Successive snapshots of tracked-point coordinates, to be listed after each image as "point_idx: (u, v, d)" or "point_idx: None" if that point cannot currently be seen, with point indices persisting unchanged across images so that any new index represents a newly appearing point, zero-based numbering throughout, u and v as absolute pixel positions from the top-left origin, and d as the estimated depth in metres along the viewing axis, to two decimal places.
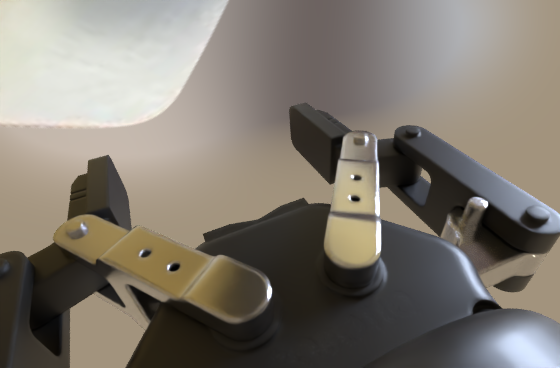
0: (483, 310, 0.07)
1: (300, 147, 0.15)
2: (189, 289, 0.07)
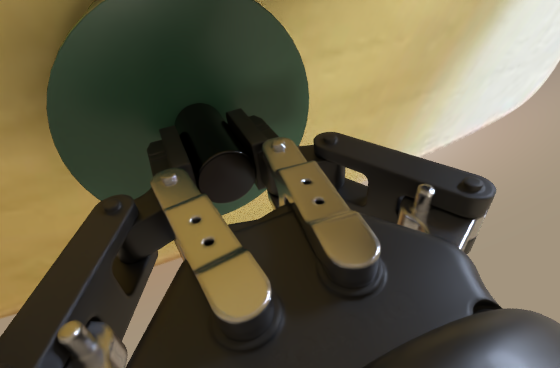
0: (483, 310, 0.07)
1: None
2: (205, 267, 0.07)
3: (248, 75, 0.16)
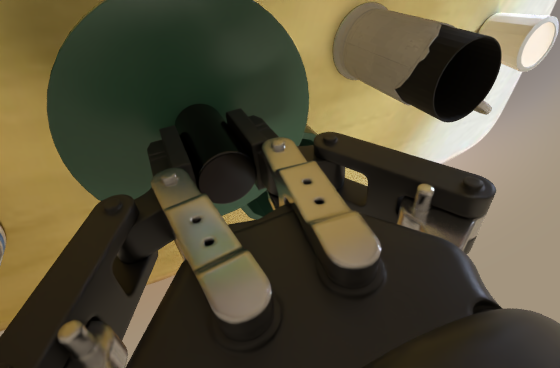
0: (483, 310, 0.07)
1: None
2: (205, 268, 0.07)
3: (248, 76, 0.16)
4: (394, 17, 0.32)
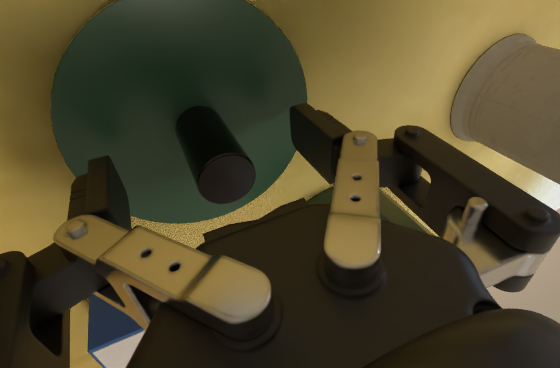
0: (483, 310, 0.07)
1: (300, 147, 0.15)
2: (189, 288, 0.07)
3: (247, 78, 0.16)
4: None
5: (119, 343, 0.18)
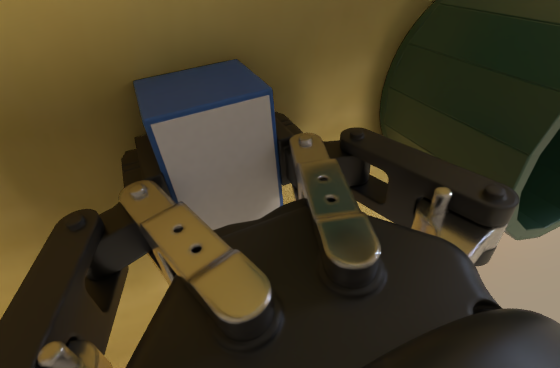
0: (483, 310, 0.07)
1: None
2: (198, 274, 0.07)
3: None
4: None
5: (195, 118, 0.11)
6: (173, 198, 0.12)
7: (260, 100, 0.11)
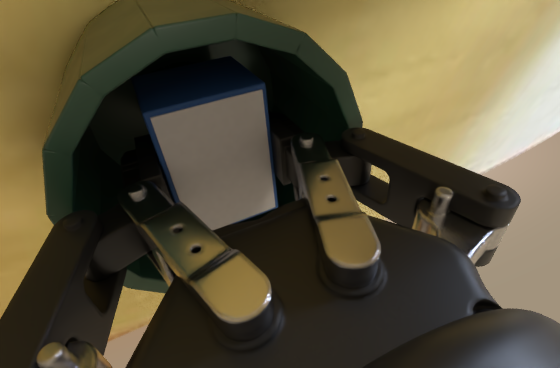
0: (483, 310, 0.07)
1: None
2: (198, 274, 0.07)
3: None
4: None
5: (192, 111, 0.11)
6: (172, 189, 0.12)
7: (254, 94, 0.12)
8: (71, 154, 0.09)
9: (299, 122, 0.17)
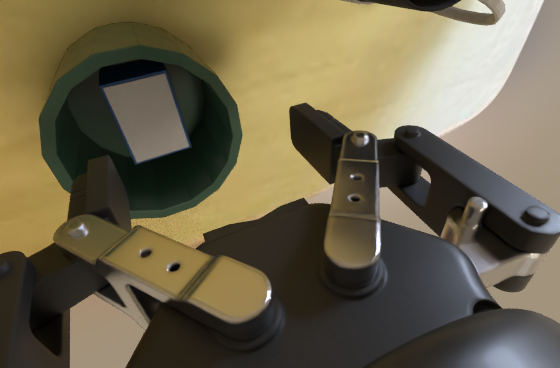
0: (483, 310, 0.07)
1: (300, 147, 0.15)
2: (189, 288, 0.07)
3: None
4: None
5: (125, 85, 0.21)
6: (120, 129, 0.23)
7: (160, 75, 0.22)
8: (54, 121, 0.17)
9: (214, 109, 0.25)
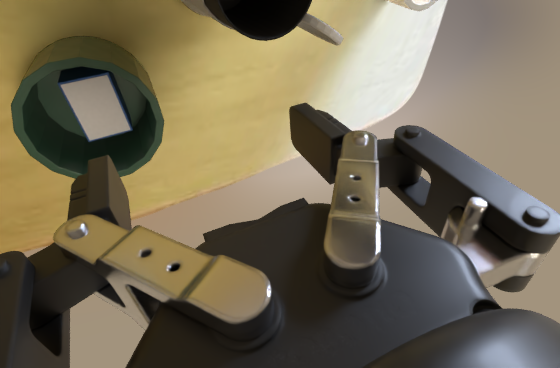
0: (483, 310, 0.07)
1: (300, 147, 0.15)
2: (189, 289, 0.07)
3: None
4: None
5: (77, 83, 0.30)
6: (75, 115, 0.31)
7: (103, 76, 0.30)
8: (21, 107, 0.26)
9: None
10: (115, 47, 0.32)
